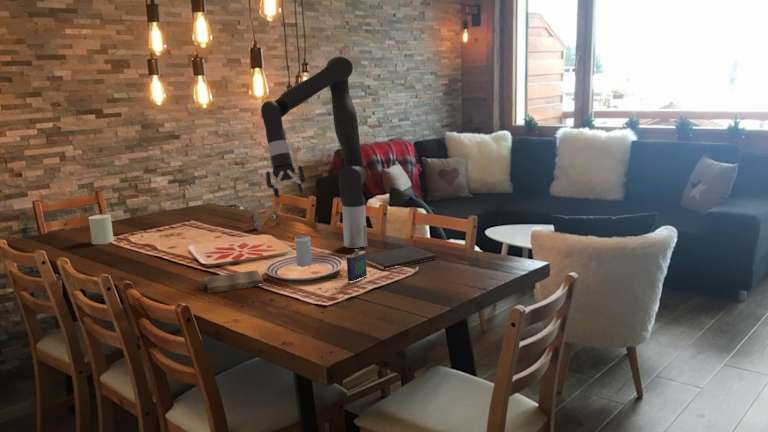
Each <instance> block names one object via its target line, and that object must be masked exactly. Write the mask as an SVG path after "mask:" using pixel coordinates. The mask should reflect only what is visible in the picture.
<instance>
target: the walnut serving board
mask: <svg viewBox="0 0 768 432" xmlns="http://www.w3.org/2000/svg"><path fill="white" fill-rule="evenodd" d="M259 284H264V279H263V277H262V276H261V274H260V273H259V271H258V270H249V271H241V272H234V273H233V272H232V273H227V274H220V275H219V274H218V275H212V276H206V277H204V281H201V282H199V289H200V290H207V293H208V294H212V293H219V292H226V291H234V290H241V289H248V288H254V287H253V286H255V285H259ZM247 287H248V288H247ZM255 287H256V286H255Z"/></svg>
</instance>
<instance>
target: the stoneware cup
mask: <svg viewBox="0 0 768 432" xmlns="http://www.w3.org/2000/svg"><path fill="white" fill-rule="evenodd" d="M294 243H295V252H296V254H295V256H297V266H301V267H305V266H310V265H312V259H311V254H312V248H311V247H312V245H311V236H310V235H304V234H303V235H297V236H294Z"/></svg>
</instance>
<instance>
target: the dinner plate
mask: <svg viewBox="0 0 768 432" xmlns="http://www.w3.org/2000/svg"><path fill="white" fill-rule="evenodd" d="M311 259H312V264H313V265H314V264H319V265H320V264H321V265H322V266H323V265H324V266H325V265H326V266H328V267H329V268H331V270H330V271H329V272H328V273H326V274H324V275H320V276H315V277H308V278H284V277H281V276H280V275H279V274H278V272H279V271H280V270H281V269H283V268H286V267H289V266H294V265H295V266H296V265H297V256H296V255H291V256H287V257H283V258H280V259H277V260H275V261H272V262H271V263H269V264H268V265H267V266H266V268H265V273H266V274H267V275H269V276H271V277H274V278H278V279H281V280H286V281H293V280H306V281H312V280H311V279H314V280H317V278H318V279H322V278H325V277H328V276H330V275H332V274H334V273H336V272H338V271H339V270H340V269H342V267H343V266H344V261H343V260H342V258H339V257H337V256H334V255H328V254H316V253H314V254H312V253H311ZM321 277H322V278H321Z"/></svg>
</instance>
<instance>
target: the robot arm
mask: <svg viewBox="0 0 768 432" xmlns="http://www.w3.org/2000/svg"><path fill="white" fill-rule="evenodd" d="M353 70H354V67H353V62H352V61H351V60H350V58H348V57H346V56H342V55H339V56H334V57H332V58H331V59H329V60H328V62H327V63H326V66H325V67H324V68H323V69H321V70H320V71H319V72H317V73H316V74H314V75H312V76H310V77H308V78H307V79H304V80H302V81H301V82H298V83H297V84H295V85H293V86H291V87H290V88H289V89H287V90H285V91H284V92H283V93H281V94H280V96H279V97H278V98H277V99H275V100H266V101H265V102H264V103H262V105H261V108H260V113H261V114H260V115H261V117H262V120H263V125H264V128H265V136H266V141H267V145H268V152H269V153H268V154H269V158H270V161H271V162H270V163H271V167H272V171H269V170H268V171H266V172H265V174H264V175H265V179H266V180H265V181H266V186H267V188H268V189H272V190H273V191H272V192H273V196H274V197H275V198H276V199H277V200H278V199H280V193H279V188H278V185H279V183H280V182H285V181H290V180H291V181H292V182H294V183H295V184H296V189H297V194H298V195H302V193H303V186H302V183H304V182H306V177H305V174H304V171H303V170H304V169H303V167H302V166H301V165H299V166H296V167H294V166H293V165H294V164H293V159H292V156H291V155H292V154H291V151H290V147H289V144H288V142H287V136H286V133H285V132H286V131H285V128H284V126H283V119H282V118H283V117H284V116H286V115H287V114H288V113H290V111H291V110H294V109H295V108H297V107H299V106H301V105H302V104H304V103H305V102H306V101H308V100H309V99H311V98H312V97H314V96H315V95H316V94H318V93H320V92H321V91H323V90H324V89H327V88H328V87H329V89H330V93H331V94H330V95H331V105H332V106H331V107H332V108H331V109H332V116H333V117H332V118H333V124H334V125H333V126H334V131H335V135H336V138H337V141H338V143H339V146H340V148H341V151H342V154H343V162H344V163H343V164H344V165H343V166H344V167H343V168H342V169H341V170H340V172H339V176H338V189H339V198H340V200H341V208H342V210H341V211H342V228H343V229H342V230H343V247H344V246H345V247H348V248H357V247H363V246H367V247H368V231H367V230H368V229H367V222H366V221H367V218H366V217H367V216H366V199H365V196H364V195H363V187H362V185H363V184H364V182H365V181H366V177H367V176H366V169H365V165H364V162H363V157H362V151H361V143H360V142H361V140H360V133H359V132H360V131H359V122H358V116H357V115H358V114H357V112H356V111H357V110H356V107H355V105H354V102H353V99H352V98H351V97H352V96H351V94H350V93H351V92H350V88H349V78H350V77H351V75H352V74H353ZM295 172H296V174H298V175H299V178H298V177H297V176H296V175H295ZM272 176H274V178H275V180H274V182H273V183H272V180H271V178H272ZM345 247H344V248H345ZM348 248H347V249H348Z"/></svg>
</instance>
